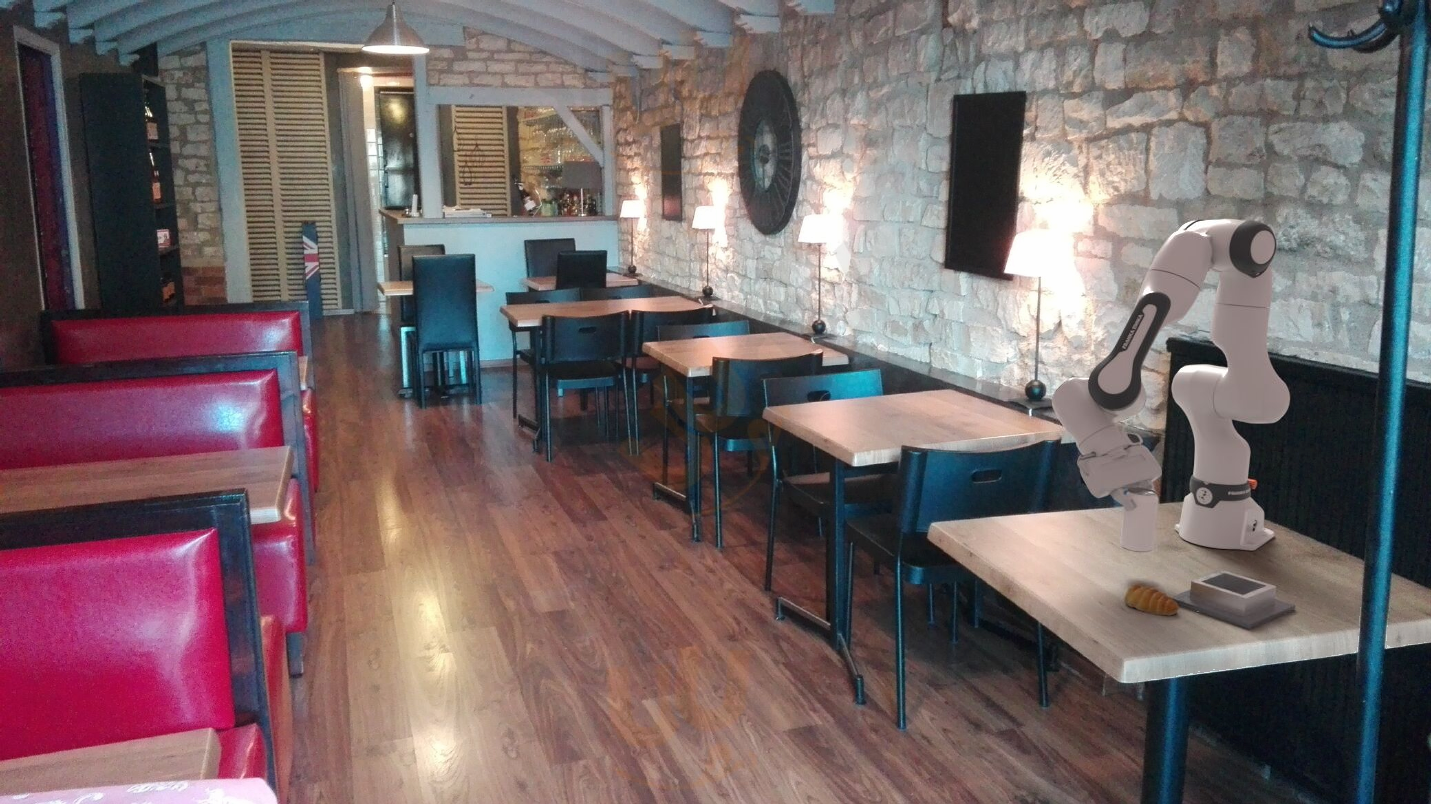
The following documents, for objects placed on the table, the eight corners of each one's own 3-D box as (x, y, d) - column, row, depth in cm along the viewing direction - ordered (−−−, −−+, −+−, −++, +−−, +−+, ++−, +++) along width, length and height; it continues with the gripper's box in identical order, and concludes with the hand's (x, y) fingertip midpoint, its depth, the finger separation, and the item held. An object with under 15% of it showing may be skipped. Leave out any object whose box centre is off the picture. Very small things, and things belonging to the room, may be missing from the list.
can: (1156, 554, 224) (1162, 496, 222) (1122, 551, 225) (1127, 494, 223) (1150, 544, 230) (1156, 487, 228) (1117, 541, 232) (1122, 485, 229)
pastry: (1184, 612, 210) (1186, 592, 209) (1167, 621, 206) (1169, 601, 205) (1137, 598, 217) (1139, 579, 216) (1119, 606, 212) (1121, 587, 212)
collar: (1214, 585, 223) (1217, 563, 222) (1294, 610, 211) (1297, 587, 210) (1168, 602, 214) (1170, 580, 213) (1249, 629, 201) (1252, 606, 200)
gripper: (1083, 448, 223) (1123, 507, 217) (1144, 433, 235) (1183, 489, 229) (1063, 465, 228) (1102, 523, 222) (1124, 449, 239) (1161, 504, 234)
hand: (1143, 505), depth 226 cm, fingers closed on can, 6 cm apart
